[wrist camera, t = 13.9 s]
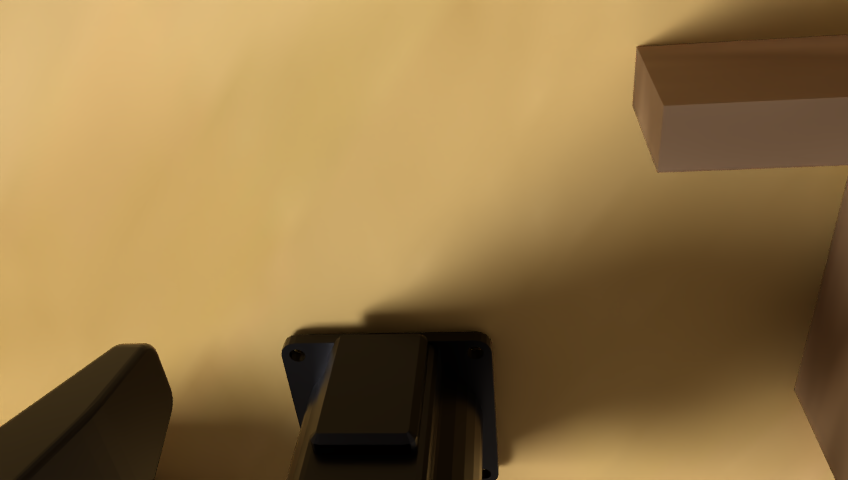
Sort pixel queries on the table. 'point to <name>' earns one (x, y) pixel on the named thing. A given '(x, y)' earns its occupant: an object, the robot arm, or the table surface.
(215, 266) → the table surface
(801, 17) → the table surface
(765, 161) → the brown angular piece
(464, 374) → the robot arm
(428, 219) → the table surface
